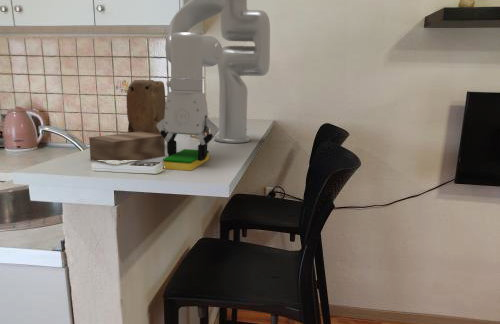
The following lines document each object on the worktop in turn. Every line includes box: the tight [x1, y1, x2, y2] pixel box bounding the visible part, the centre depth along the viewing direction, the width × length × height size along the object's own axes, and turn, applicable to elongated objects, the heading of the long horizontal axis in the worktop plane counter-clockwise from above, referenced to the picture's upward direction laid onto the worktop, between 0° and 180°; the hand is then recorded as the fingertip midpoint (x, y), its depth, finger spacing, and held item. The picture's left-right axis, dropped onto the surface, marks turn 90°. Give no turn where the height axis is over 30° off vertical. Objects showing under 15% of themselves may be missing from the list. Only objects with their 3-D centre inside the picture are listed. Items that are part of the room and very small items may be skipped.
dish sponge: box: [162, 148, 210, 172], centre depth 96 cm, size 7×14×2 cm, turn 168°
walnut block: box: [88, 131, 166, 161], centre depth 101 cm, size 16×10×6 cm, turn 145°
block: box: [125, 79, 166, 134], centre depth 114 cm, size 11×8×20 cm
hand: (187, 158), depth 96 cm, fingers closed on dish sponge, 7 cm apart
